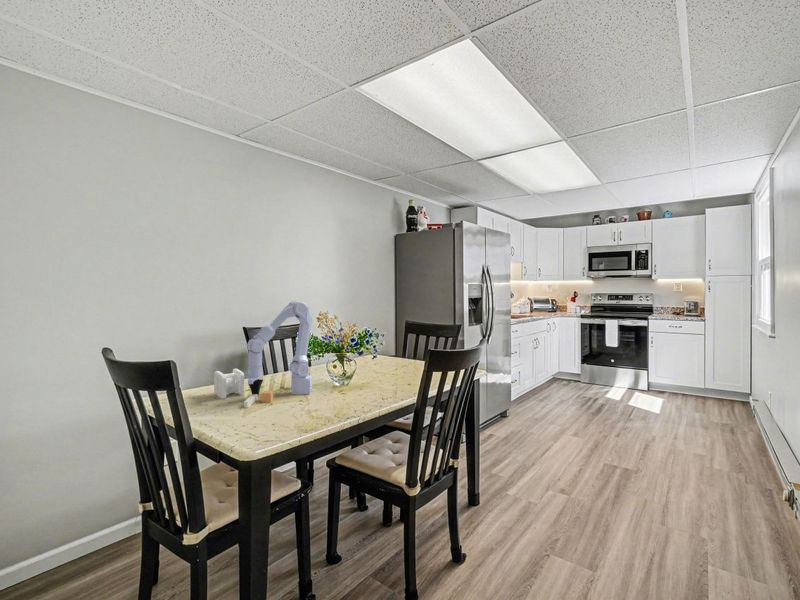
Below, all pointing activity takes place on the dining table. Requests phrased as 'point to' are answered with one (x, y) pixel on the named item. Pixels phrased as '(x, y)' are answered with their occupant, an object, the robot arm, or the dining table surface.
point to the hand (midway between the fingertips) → (255, 396)
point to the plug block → (267, 396)
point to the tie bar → (250, 400)
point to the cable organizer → (228, 383)
